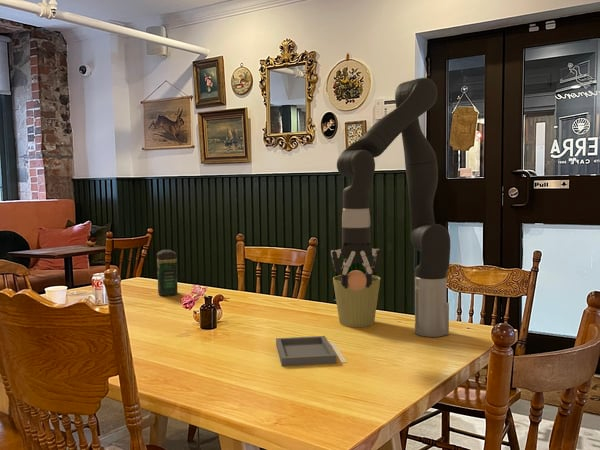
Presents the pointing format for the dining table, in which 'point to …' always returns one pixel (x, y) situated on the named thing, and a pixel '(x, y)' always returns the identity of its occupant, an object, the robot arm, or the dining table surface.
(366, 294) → the potted cactus
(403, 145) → the robot arm
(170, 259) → the coffee jar
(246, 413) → the dining table surface
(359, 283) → the ball
